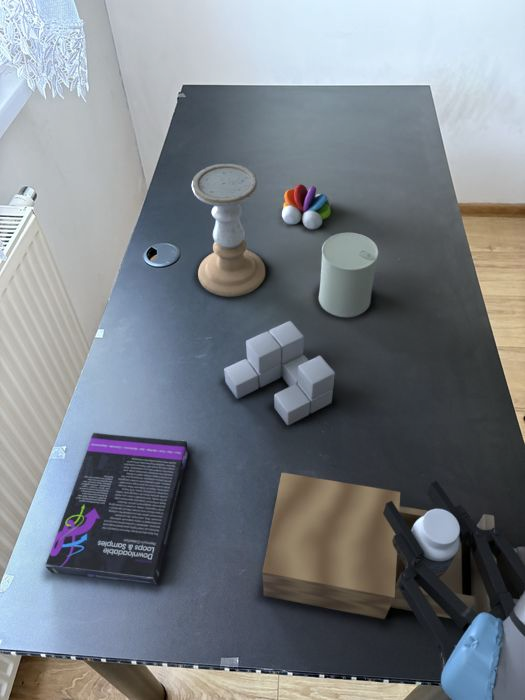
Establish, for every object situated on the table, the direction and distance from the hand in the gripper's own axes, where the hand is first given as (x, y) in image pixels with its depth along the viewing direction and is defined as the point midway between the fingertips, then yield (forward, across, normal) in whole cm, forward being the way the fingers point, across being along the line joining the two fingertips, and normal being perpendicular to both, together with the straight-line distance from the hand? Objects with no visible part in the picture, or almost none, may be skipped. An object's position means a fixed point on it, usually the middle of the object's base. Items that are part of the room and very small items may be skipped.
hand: (409, 497), depth 69 cm
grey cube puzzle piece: (+27, -4, -12) cm, 30 cm away
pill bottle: (-5, 0, -6) cm, 8 cm away
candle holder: (+55, -1, -12) cm, 56 cm away
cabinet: (+1, -9, -11) cm, 15 cm away
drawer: (-7, +2, -11) cm, 13 cm away
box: (+18, -31, -12) cm, 38 cm away
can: (+40, +15, -12) cm, 45 cm away
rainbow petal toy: (+64, +19, -12) cm, 68 cm away
